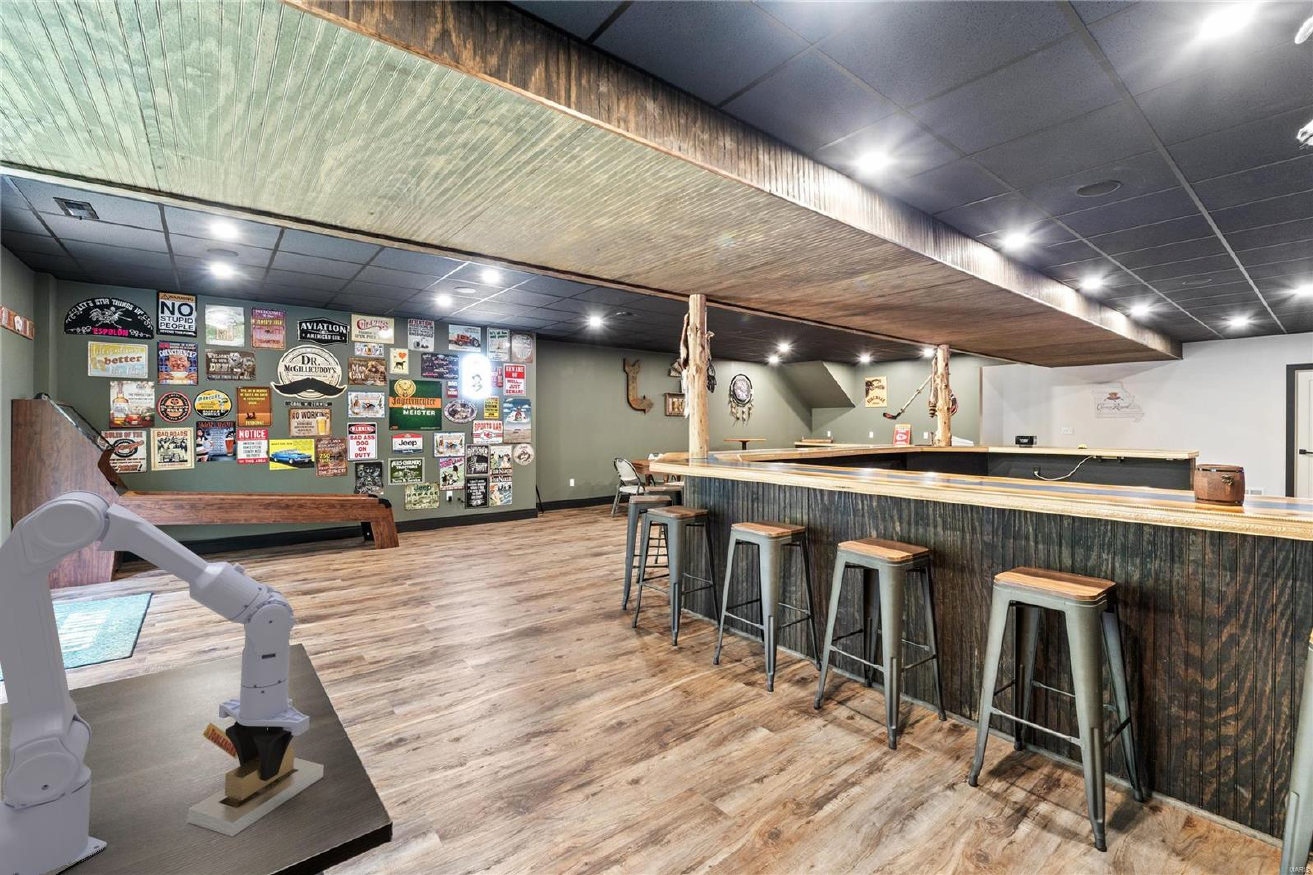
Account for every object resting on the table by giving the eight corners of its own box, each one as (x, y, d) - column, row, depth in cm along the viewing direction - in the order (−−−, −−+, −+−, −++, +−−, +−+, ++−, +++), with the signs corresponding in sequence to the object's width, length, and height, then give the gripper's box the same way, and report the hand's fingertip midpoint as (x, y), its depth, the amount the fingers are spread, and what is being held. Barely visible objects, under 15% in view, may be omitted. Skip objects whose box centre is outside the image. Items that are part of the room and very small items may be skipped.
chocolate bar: (218, 732, 100) (219, 719, 100) (251, 755, 94) (252, 741, 94) (200, 738, 98) (201, 725, 98) (233, 762, 91) (233, 748, 91)
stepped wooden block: (240, 815, 78) (242, 778, 78) (224, 810, 79) (225, 773, 79) (292, 782, 86) (294, 748, 86) (277, 777, 87) (278, 744, 87)
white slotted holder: (232, 836, 75) (233, 822, 75) (187, 822, 77) (188, 808, 77) (322, 776, 88) (323, 765, 88) (282, 766, 90) (282, 754, 90)
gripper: (328, 676, 84) (324, 769, 84) (253, 661, 88) (249, 749, 88) (285, 697, 77) (280, 798, 77) (205, 679, 82) (201, 775, 82)
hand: (260, 774), depth 82 cm, fingers closed on stepped wooden block, 3 cm apart
